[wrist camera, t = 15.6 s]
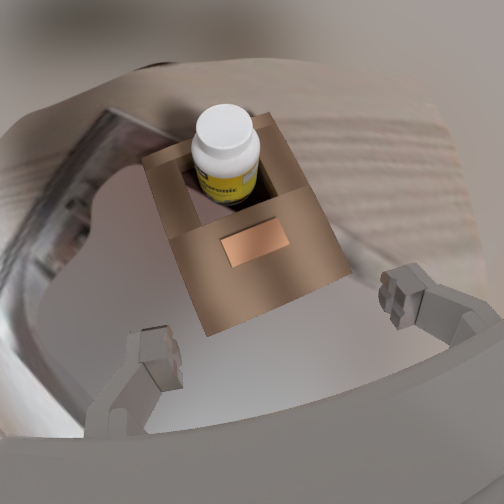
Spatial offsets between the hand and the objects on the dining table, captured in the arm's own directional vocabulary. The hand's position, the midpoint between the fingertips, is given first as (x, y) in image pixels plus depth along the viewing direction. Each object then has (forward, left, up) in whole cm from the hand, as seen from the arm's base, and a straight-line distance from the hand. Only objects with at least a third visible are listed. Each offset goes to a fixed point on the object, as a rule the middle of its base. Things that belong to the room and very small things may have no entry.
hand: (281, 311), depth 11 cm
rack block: (+2, +9, -17) cm, 19 cm away
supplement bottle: (+3, +13, -17) cm, 21 cm away
